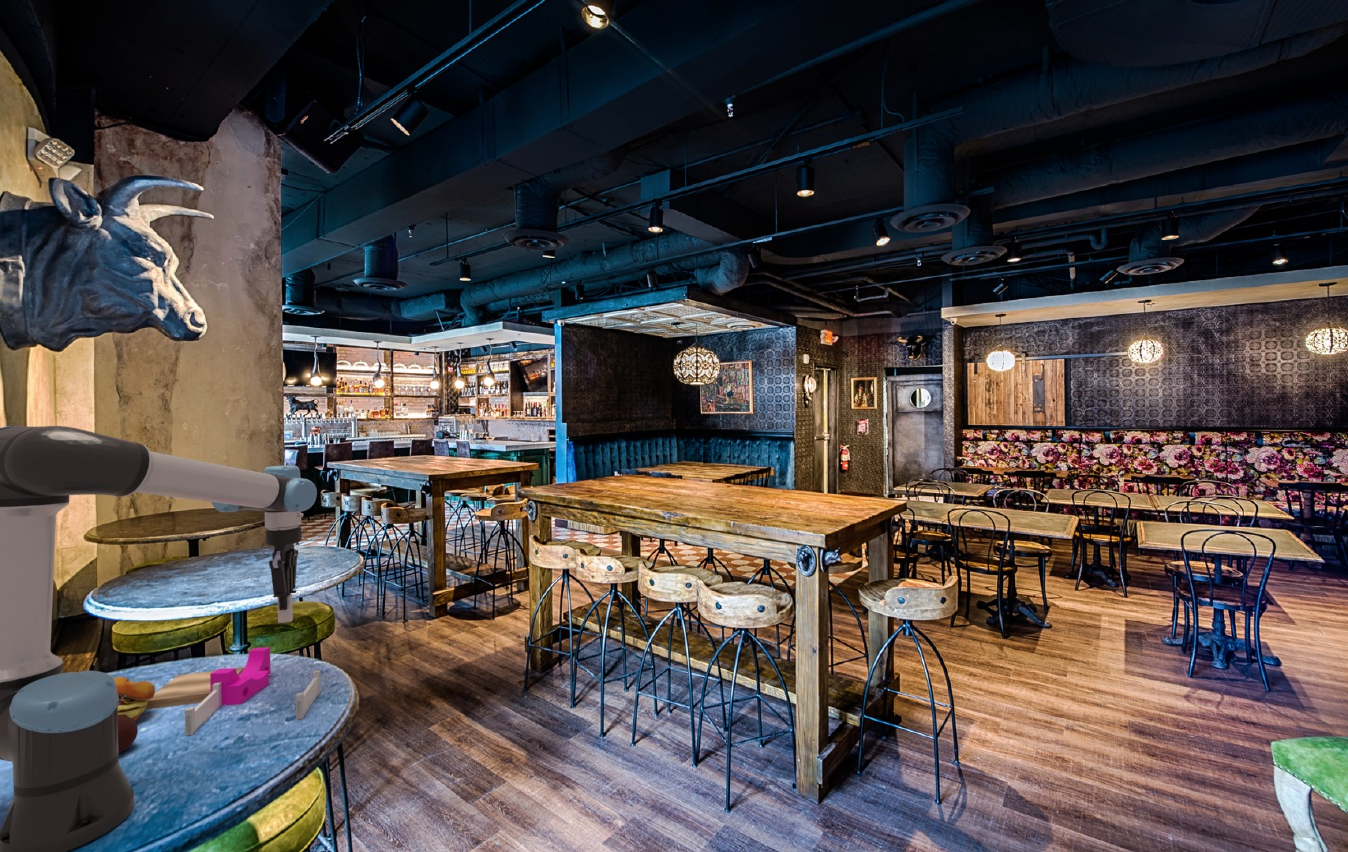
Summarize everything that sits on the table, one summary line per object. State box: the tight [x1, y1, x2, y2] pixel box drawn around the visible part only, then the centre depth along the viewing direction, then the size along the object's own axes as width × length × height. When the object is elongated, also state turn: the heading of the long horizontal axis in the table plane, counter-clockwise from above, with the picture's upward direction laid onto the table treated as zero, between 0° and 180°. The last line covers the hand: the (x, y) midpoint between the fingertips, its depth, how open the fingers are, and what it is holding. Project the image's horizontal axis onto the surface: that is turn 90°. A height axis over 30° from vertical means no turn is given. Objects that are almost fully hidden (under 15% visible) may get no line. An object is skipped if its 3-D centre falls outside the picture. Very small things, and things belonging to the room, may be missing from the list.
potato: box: [118, 715, 139, 754], centre depth 112 cm, size 7×8×7 cm
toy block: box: [210, 646, 272, 706], centre depth 138 cm, size 15×6×8 cm, turn 3°
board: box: [145, 666, 245, 710], centre depth 138 cm, size 14×14×2 cm
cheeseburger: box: [112, 676, 156, 722], centre depth 123 cm, size 10×11×10 cm
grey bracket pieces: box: [184, 669, 322, 737], centre depth 127 cm, size 13×21×5 cm, turn 107°
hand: (285, 621), depth 144 cm, fingers closed
